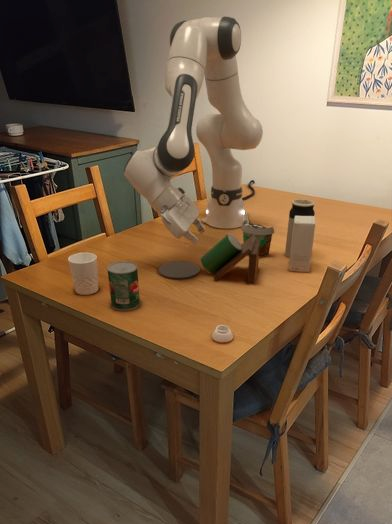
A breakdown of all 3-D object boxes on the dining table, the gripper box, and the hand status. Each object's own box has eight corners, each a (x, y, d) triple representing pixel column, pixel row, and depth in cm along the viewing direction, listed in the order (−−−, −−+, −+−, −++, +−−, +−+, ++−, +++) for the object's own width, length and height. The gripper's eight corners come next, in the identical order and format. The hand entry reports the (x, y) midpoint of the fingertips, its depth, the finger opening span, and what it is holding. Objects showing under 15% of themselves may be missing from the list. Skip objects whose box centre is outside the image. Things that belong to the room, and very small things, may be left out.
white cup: (90, 281, 140) (86, 250, 135) (106, 290, 135) (102, 257, 130) (68, 289, 136) (62, 257, 130) (82, 298, 131) (77, 265, 125)
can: (202, 267, 149) (202, 228, 142) (241, 270, 147) (243, 231, 140) (198, 275, 144) (198, 235, 137) (238, 278, 142) (241, 238, 135)
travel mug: (298, 261, 153) (305, 206, 143) (280, 254, 158) (285, 201, 148) (313, 255, 158) (321, 202, 148) (294, 249, 163) (301, 196, 153)
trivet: (164, 261, 153) (164, 259, 153) (203, 264, 151) (203, 262, 151) (153, 277, 143) (153, 275, 143) (194, 281, 141) (194, 279, 140)
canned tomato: (108, 300, 130) (103, 263, 124) (135, 295, 132) (132, 259, 126) (115, 313, 124) (111, 275, 118) (143, 307, 126) (141, 270, 120)
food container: (232, 251, 160) (233, 223, 155) (243, 247, 164) (245, 219, 159) (261, 261, 153) (263, 231, 148) (272, 256, 157) (274, 227, 152)
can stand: (219, 265, 151) (220, 232, 145) (258, 268, 148) (260, 235, 142) (213, 280, 141) (213, 245, 135) (254, 284, 139) (256, 249, 133)
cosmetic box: (309, 273, 146) (316, 224, 137) (287, 271, 147) (293, 222, 138) (309, 262, 152) (316, 215, 144) (289, 261, 154) (294, 214, 145)
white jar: (207, 338, 113) (223, 346, 110) (208, 328, 112) (224, 335, 109) (220, 330, 116) (236, 337, 113) (221, 320, 115) (237, 327, 112)
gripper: (165, 205, 127) (200, 242, 130) (183, 186, 143) (213, 219, 147) (151, 220, 130) (185, 255, 134) (169, 200, 147) (200, 232, 150)
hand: (200, 236), depth 140 cm, fingers open, 8 cm apart
